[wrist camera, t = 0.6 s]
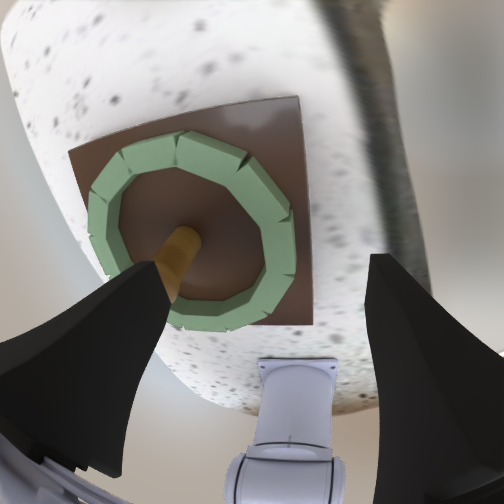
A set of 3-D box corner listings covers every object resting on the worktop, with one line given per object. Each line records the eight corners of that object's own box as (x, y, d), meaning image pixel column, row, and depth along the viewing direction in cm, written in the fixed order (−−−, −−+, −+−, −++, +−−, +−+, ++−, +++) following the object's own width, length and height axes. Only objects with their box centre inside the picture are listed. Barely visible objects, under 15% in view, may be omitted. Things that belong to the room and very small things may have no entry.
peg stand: (313, 302, 21) (310, 394, 15) (146, 299, 25) (106, 367, 18) (298, 95, 14) (296, 99, 7) (89, 141, 17) (5, 183, 10)
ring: (300, 317, 19) (299, 334, 18) (139, 311, 22) (131, 324, 21) (281, 115, 12) (279, 118, 11) (78, 160, 15) (63, 168, 14)
